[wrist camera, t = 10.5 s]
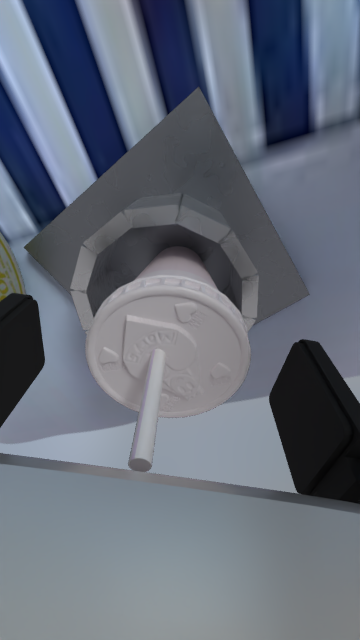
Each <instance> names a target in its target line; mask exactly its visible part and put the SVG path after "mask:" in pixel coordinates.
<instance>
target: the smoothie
mask: <svg viewBox="0 0 360 640" xmlns="http://www.w3.org/2000/svg"><path fill="white" fill-rule="evenodd" d="M85 352H86V359H87V363H88V367H89V369H90V371H91V373H92V375H93V377H94V379H95V380H96V382H97V383H98V384H99V386H100V387H101V388H102V389H103V390H104V391H105V392H106V393H107V394H108V395H109V396H110V397H111V398H113V399H114V400H116V401H117V402H118V403H120V404H122V405H124V406H126V407H127V408H129V409H132V410H134V411H137V412H139V414H138V419H137V424H136V428H135V433H134V438H133V443H132V448H131V452H130V457H129V462H128V466H129V468H131V469H132V470H134V471H139V472H146V471H149V470H150V469H151V467H152V460H153V452H154V445H155V437H156V429H157V422H158V421H157V420H158V417H166V418H179V417H187V416H193V415H197V414H200V413H204V412H207V411H209V410H211V409H213V408H216V407H217V406H219V405H221V404H222V403H224V402H225V401H227V400H228V399H229V398H230V397H231V396H232V395H233V394H234V393H235V392H236V391H237V390H238V389H239V388H240V386H241V385H242V383H243V382H244V380H245V378H246V376H247V373H248V370H249V366H250V360H251V349H250V343H249V339H248V332H247V327H246V325H245V322H244V320H243V318H242V316H241V313H240V311H239V310H238V309H237V308H236V307H235V305H234V304H233V303H232V302H231V301H230V300H229V299H228V297H227V296H226V295H224V294H223V293H221V292H220V291H219V290H218V289H217V287H216V285H215V283H214V281H213V280H212V278H211V276H210V274H209V272H208V271H207V269H206V267H205V265H204V263H203V262H202V260H201V258H200V257H199V256H198V255H197V254H196V253H195V252H194V251H192V250H191V249H189V248H186V247H181V246H174V247H169V248H167V249H164V250H163V251H161V252H160V253H159V254H158V255H157V256H156V257H155V258H154V259H153V260H152V261H151V263H150V264H149V265H148V266H147V267H146V268H145V269H144V270H143V271H142V272H141V273H140V274H139V276H138V277H137V278H136V279H135V280H134V281H132V282H130V283H128V284H126V285H124V286H122V287H120V288H118V289H117V290H116V291H114V292H113V293H112V294H111V295H110V296H109V297H108V298H107V299H106V300H105V301H103V303H102V305H101V306H100V308H99V310H98V311H97V313H96V315H95V317H94V319H93V321H92V323H91V325H90V328H89V330H88V333H87V337H86V345H85Z"/></svg>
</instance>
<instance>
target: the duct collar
mask: <svg viewBox="0 0 360 640" xmlns="http://www.w3.org/2000/svg"><path fill="white" fill-rule="evenodd" d="M174 246H181V247H186V248H189V249H191V250H192V251H194V252H195V253H196V254H197V255H198V256H199V257H200V258H201V260H202V262H203V263H204V265H205V267H206V269H207V271H208V272H209V274H210V276H211V278H212V280H213V281H214V283H215V285H216V287H217V289H218V290H219V291H220V292H221V293H223V294H224V295H226V296H227V297H228V299H229V300H230V301H231V302H232V303H233V304H234V305H235V307H236V308H237V309H238V310H239V311H240V313H241V316H242V318H243V320H244V322H245V325H246V327H247V332H248V331H249V330H250V328H251V327H252V326H253V325H255V324H257V323H258V322H260V321H262V320H264V319H266V318H268V317H269V316H271V315H273V314H275V313H277V312H279V311H280V310H282V309H284V308H286V307H288V306H290V305H291V304H293V303H295V302H297V301H299V300H301V299H302V298H304V297H306V296H308V295H310V294H309V292H308V290H307V288H306V287H305V285H304V283H303V281H302V279H301V277H300V275H299V273H298V272H297V270H296V268H295V266H294V264H293V262H292V260H291V258H290V257H289V255H288V253H287V251H286V249H285V247H284V245H283V243H282V242H281V240H280V238H279V236H278V234H277V232H276V230H275V228H274V227H273V225H272V223H271V221H270V219H269V217H268V215H267V213H266V212H265V210H264V208H263V206H262V204H261V202H260V200H259V199H258V197H257V195H256V193H255V191H254V189H253V187H252V185H251V184H250V182H249V180H248V178H247V176H246V174H245V172H244V170H243V169H242V167H241V165H240V163H239V161H238V159H237V157H236V155H235V154H234V152H233V150H232V148H231V146H230V144H229V142H228V140H227V139H226V137H225V135H224V133H223V131H222V129H221V127H220V125H219V124H218V122H217V120H216V118H215V116H214V114H213V112H212V110H211V109H210V107H209V105H208V103H207V101H206V99H205V97H204V95H203V94H202V92H201V90H200V88H199V87H198V88H197V89H196V90H195V91H194V92H193V93H191V94H190V95H189V96H188V97H187V98H186V99H185V100H184V101H183V102H182V103H181V104H179V105H178V106H177V107H176V108H175V109H174V110H173V111H172V112H171V113H170V114H169V115H167V116H166V117H165V118H164V119H163V120H162V121H161V122H160V123H159V124H158V125H157V126H155V127H154V128H153V129H152V130H151V131H150V132H149V133H148V134H147V135H146V136H145V137H143V138H142V139H141V140H140V141H139V142H138V143H137V144H136V145H135V146H134V147H133V148H131V149H130V150H129V151H128V152H127V153H126V154H125V155H124V156H123V157H122V158H121V159H119V160H118V161H117V162H116V163H115V164H114V165H113V166H112V167H111V168H110V169H109V170H107V171H106V172H105V173H104V174H103V175H102V176H101V177H100V178H99V179H98V180H97V181H96V182H94V183H93V184H92V185H91V186H90V187H89V188H88V189H87V190H86V191H85V192H84V193H82V194H81V195H80V196H79V197H78V198H77V199H76V200H75V201H74V202H73V203H72V204H70V205H69V206H68V207H67V208H66V209H65V210H64V211H63V212H62V213H61V214H60V215H58V216H57V217H56V218H55V219H54V220H53V221H52V222H51V223H50V224H49V225H48V226H46V227H45V228H44V229H43V230H42V231H41V232H40V233H39V234H38V235H37V236H36V237H34V238H33V239H32V240H31V241H30V242H29V243H28V244H27V245H26V246H25V247H24V248H25V249H26V250H27V251H28V252H29V253H30V254H31V255H32V256H33V257H34V258H35V259H36V260H37V261H38V262H39V263H40V264H41V265H42V266H43V267H44V268H45V269H46V270H47V271H48V272H49V273H50V274H51V275H52V276H53V277H54V278H55V279H56V280H57V281H58V282H59V283H60V284H61V285H62V286H63V287H64V288H65V289H66V290H67V291H68V292H69V293H70V294H71V295H72V298H73V301H74V304H75V307H76V310H77V313H78V316H79V319H80V322H81V325H82V328H83V330H86V331H85V333H86V334H87V333H88V330H89V328H90V325H91V323H92V321H93V319H94V317H95V315H96V313H97V311H98V310H99V308H100V306H101V305H102V303H103V301H105V300H106V299H107V298H108V297H109V296H110V295H111V294H112V293H113V292H114V291H116V290H117V289H118V288H120V287H122V286H124V285H126V284H128V283H130V282H132V281H134V280H135V279H136V278H137V277H138V276H139V274H140V273H141V272H142V271H143V270H144V269H145V268H146V267H147V266H148V265H149V264H150V263H151V261H152V260H153V259H154V258H155V257H156V256H157V255H158V254H159V253H160V252H161V251H163V250H164V249H167V248H169V247H174Z"/></svg>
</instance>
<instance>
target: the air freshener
mask: <svg viewBox="0 0 360 640" xmlns="http://www.w3.org/2000/svg"><path fill="white" fill-rule="evenodd" d="M11 293H19V294H25V295H26V293H25V287H24V282H23V278H22V275H21V271H20V269H19V266H18V263H17V261H16V259H15V256H14V254H13V252H12V250H11V248H10V246H9V245H8V243H7V241H6V240H5V238H4V237H3V235H2V234H1V232H0V301H1V300H3V299H4V298H5V297H7V296H8V295H9V294H11Z"/></svg>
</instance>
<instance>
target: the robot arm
mask: <svg viewBox="0 0 360 640" xmlns="http://www.w3.org/2000/svg"><path fill="white" fill-rule="evenodd" d="M44 363H45V356H44V348H43V341H42V333H41V325H40V317H39V309H38V303H37V301H36V300H33V298H32V296H30V295H25V294H19V293H11V294H9V295H8V296H7V297H5V298H4V299H3V300H1V301H0V427H1V426H2V425H3V423H4V422H5V420H6V419H7V418H8V416H9V415H10V413H11V412H12V411H13V409H14V408H15V406H16V405H17V404H18V402H19V401H20V399H21V398H22V396H23V395H24V394H25V392H26V391H27V389H28V388H29V387H30V385H31V384H32V382H33V381H34V380H35V378H36V377H37V375H38V374H39V373H40V371H41V370H42V368H43V366H44ZM269 402H270V406H271V409H272V412H273V415H274V418H275V422H276V425H277V429H278V432H279V436H280V439H281V442H282V445H283V449H284V452H285V455H286V459H287V462H288V465H289V469H290V472H291V475H292V478H293V482H294V485H295V488H296V490H297V492H298V493H299V494H296V493H290V492H282V491H276V490H269V489H262V488H254V487H248V486H240V485H233V484H226V483H219V482H212V481H205V480H197V479H190V478H183V477H175V476H169V475H161V474H153V473H147V472H139V471H132V470H124V469H117V468H110V467H102V466H95V465H88V464H80V463H72V462H64V461H57V460H49V459H42V458H34V457H26V456H18V455H10V454H3V453H0V640H360V403H359V402H358V401H357V399H356V397H355V396H354V394H353V393H352V391H351V390H350V388H349V387H348V386H347V384H346V382H345V381H344V380H343V378H342V376H341V375H340V373H339V372H338V370H337V369H336V367H335V366H334V364H333V363H332V361H331V360H330V358H329V357H328V355H327V354H326V352H325V351H324V349H323V348H322V346H321V345H320V343H319V342H316V341H310V340H304V339H302V340H300V341H299V342H295V343H294V344H293V346H292V348H291V350H290V352H289V354H288V356H287V359H286V361H285V363H284V365H283V367H282V369H281V371H280V373H279V376H278V378H277V380H276V382H275V384H274V386H273V388H272V390H271V393H270V396H269Z"/></svg>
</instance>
